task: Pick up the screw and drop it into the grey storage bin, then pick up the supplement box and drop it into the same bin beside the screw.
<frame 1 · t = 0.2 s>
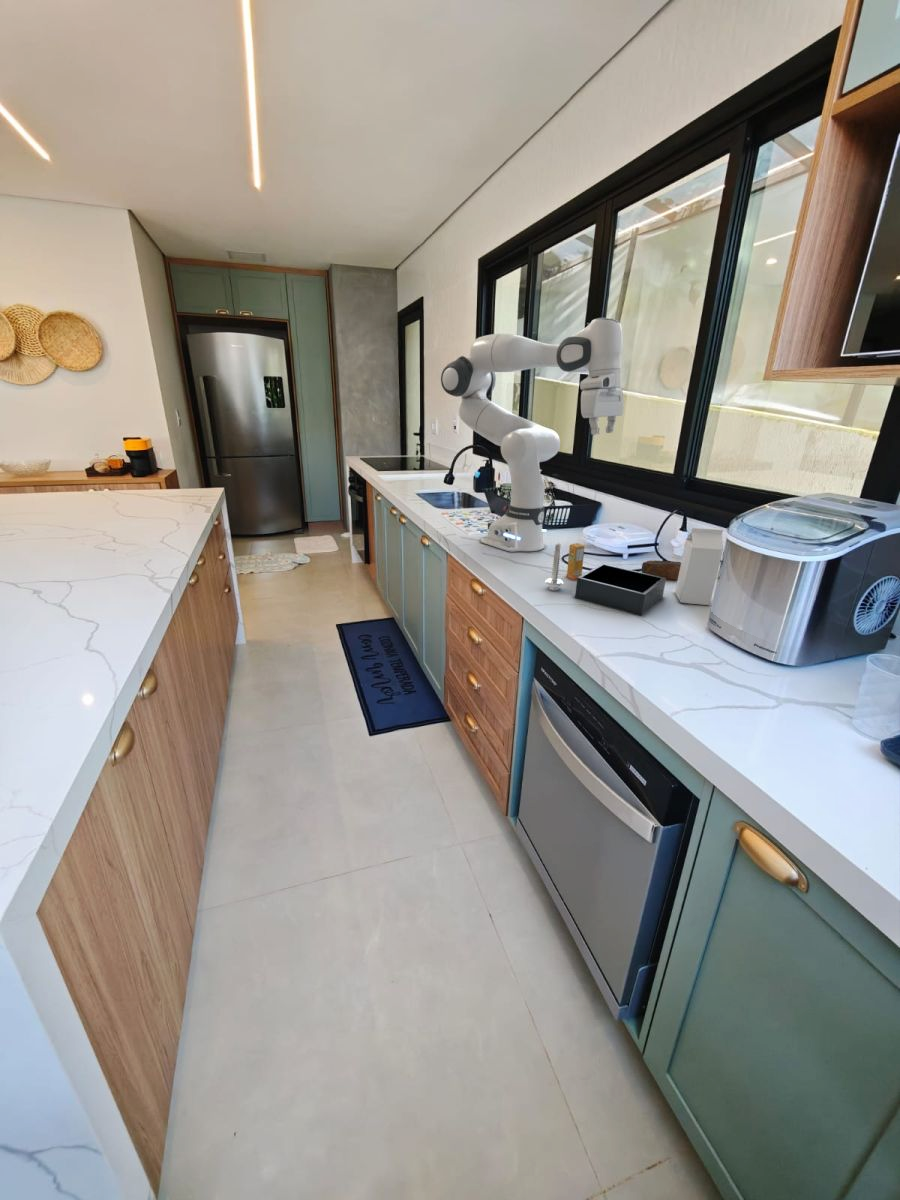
hand: (602, 433, 146), 39 cm above the countertop, tool pointing down, fingers open, 8 cm apart
milk carton: (691, 600, 132), on the countertop
screw: (553, 589, 137), on the countertop
brick: (660, 577, 148), on the countertop
supplement box: (573, 578, 146), on the countertop
grey storage bin: (618, 597, 132), on the countertop
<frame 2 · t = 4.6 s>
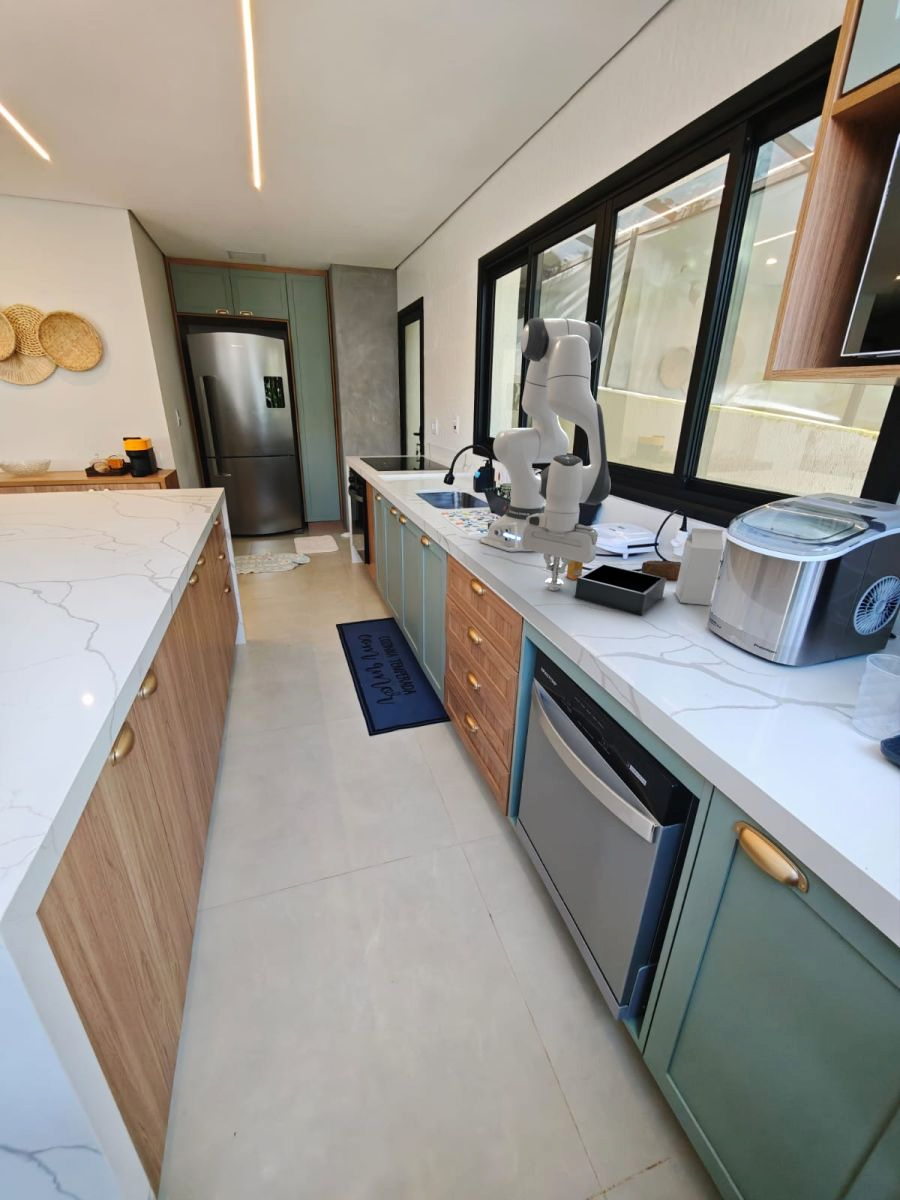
hand: (555, 571, 135), 5 cm above the countertop, tool pointing down, fingers closed on screw, 2 cm apart
screw: (553, 589, 137), on the countertop, touching gripper
everything else where it was.
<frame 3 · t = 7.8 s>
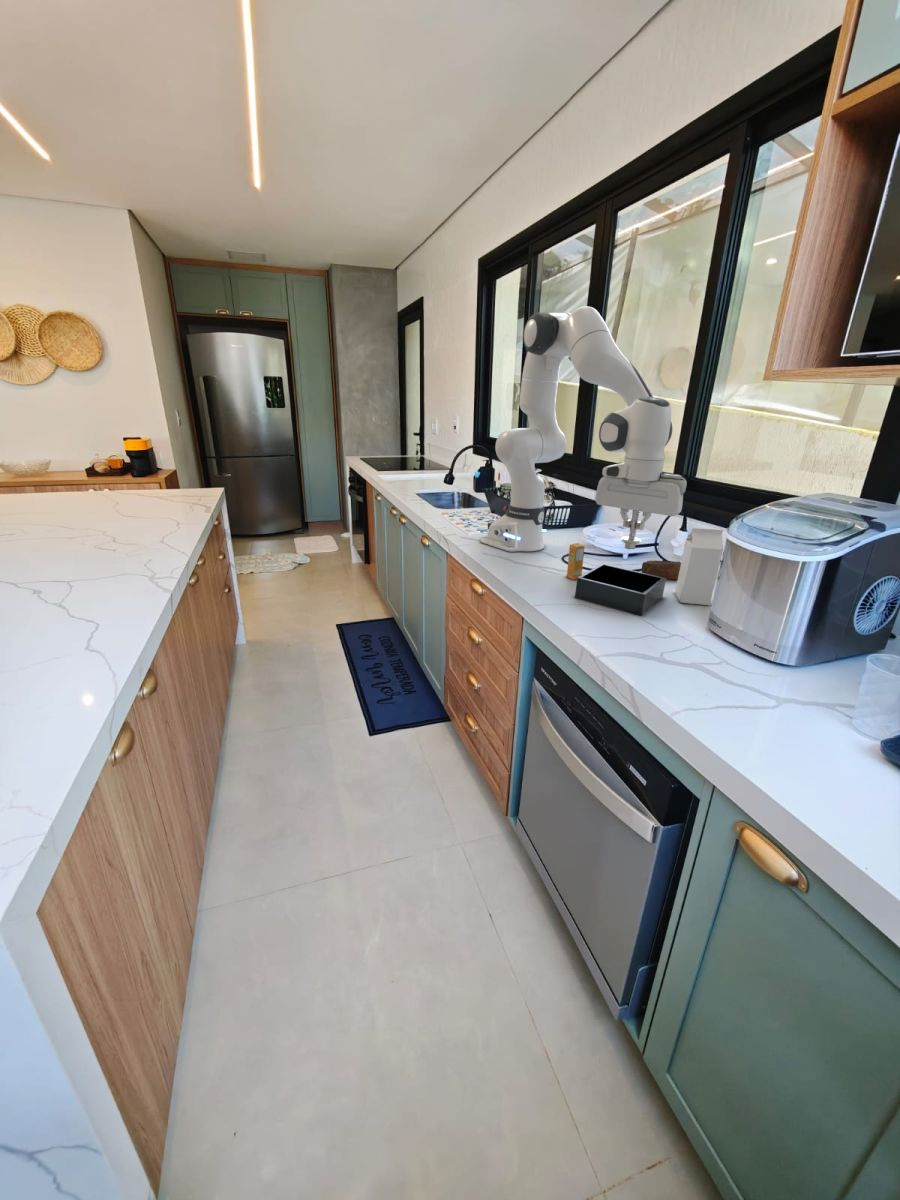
hand: (633, 528, 124), 19 cm above the countertop, tool pointing down, fingers closed on screw
screw: (629, 548, 126), point 14 cm above the countertop, touching gripper
everything else where it was.
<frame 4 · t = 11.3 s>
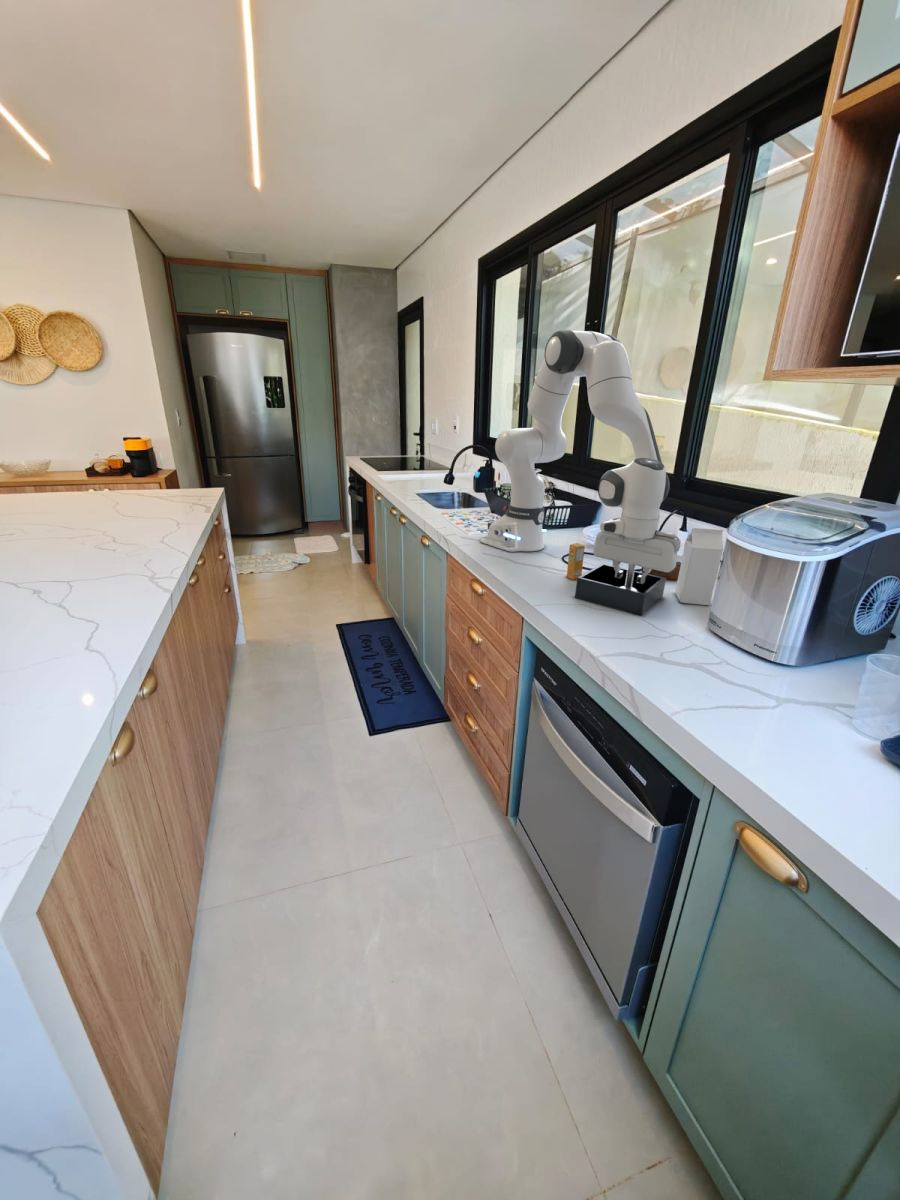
hand: (629, 580, 129), 5 cm above the countertop, tool pointing down, fingers open, 4 cm apart
screw: (626, 598, 131), resting on grey storage bin
everything else where it was.
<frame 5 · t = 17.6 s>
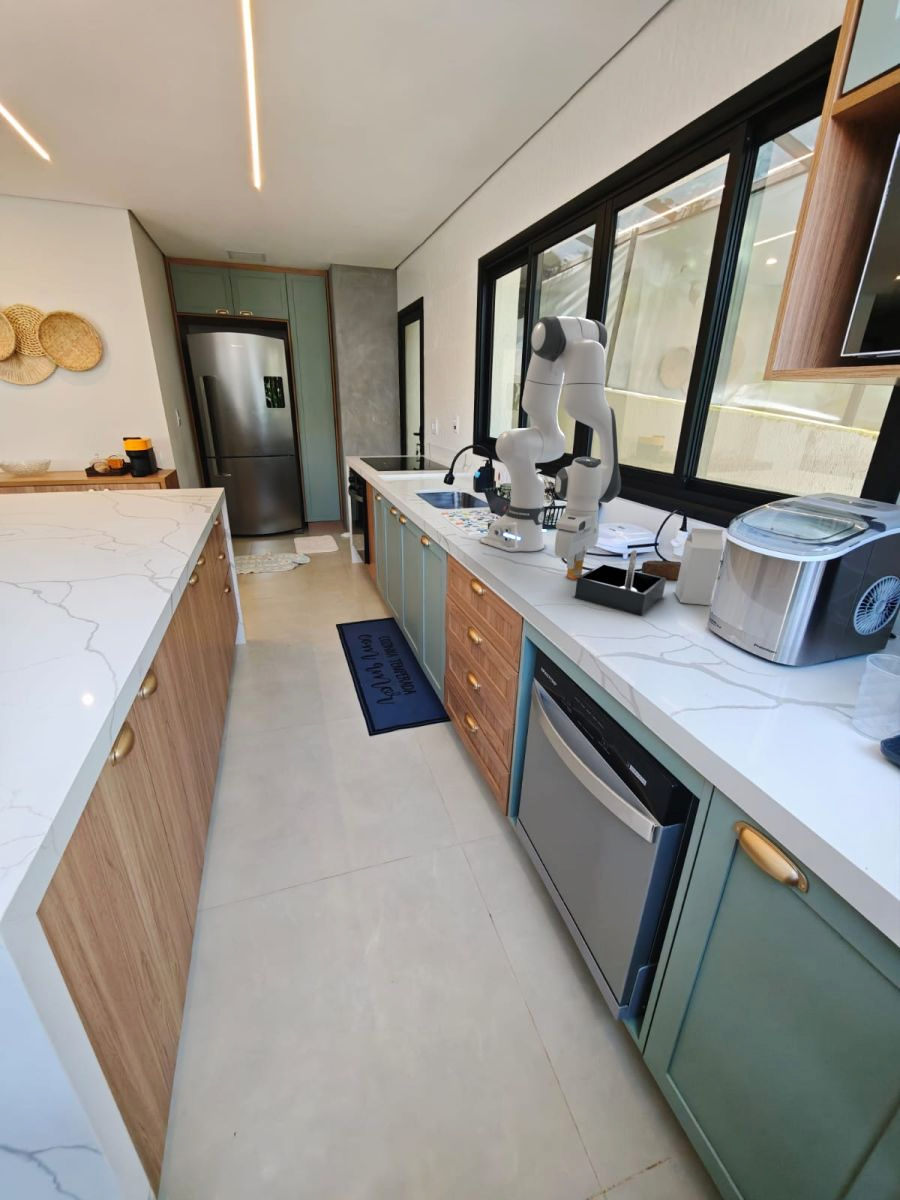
hand: (575, 566, 145), 4 cm above the countertop, tool pointing down, fingers closed on supplement box, 4 cm apart
supplement box: (573, 578, 146), on the countertop, touching gripper
everything else where it was.
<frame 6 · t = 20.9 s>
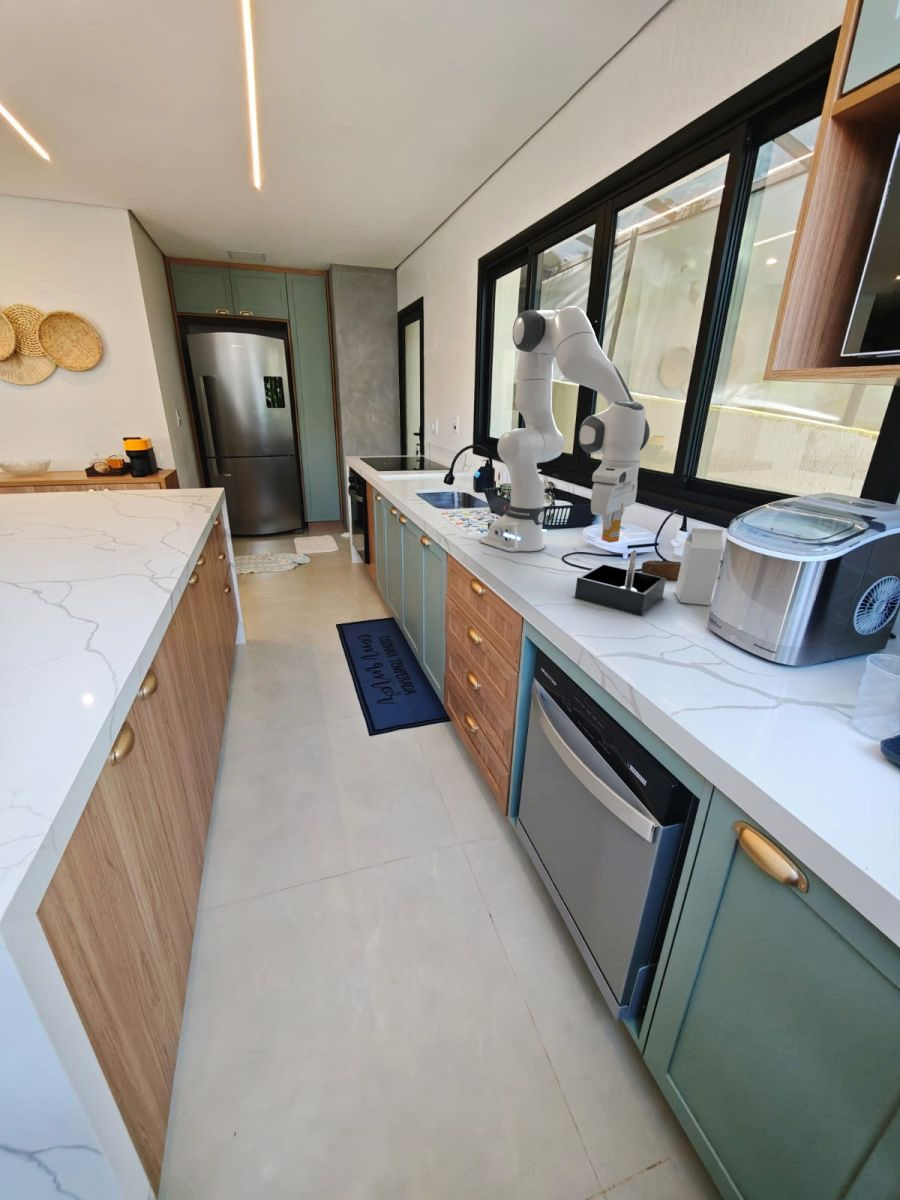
hand: (611, 527, 129), 18 cm above the countertop, tool pointing down, fingers closed on supplement box, 4 cm apart
supplement box: (609, 541, 130), point 14 cm above the countertop, touching gripper
everything else where it was.
when the fingers open (4 cm above the countertop, at t = 24.5 s): supplement box stays where it is, resting on grey storage bin.
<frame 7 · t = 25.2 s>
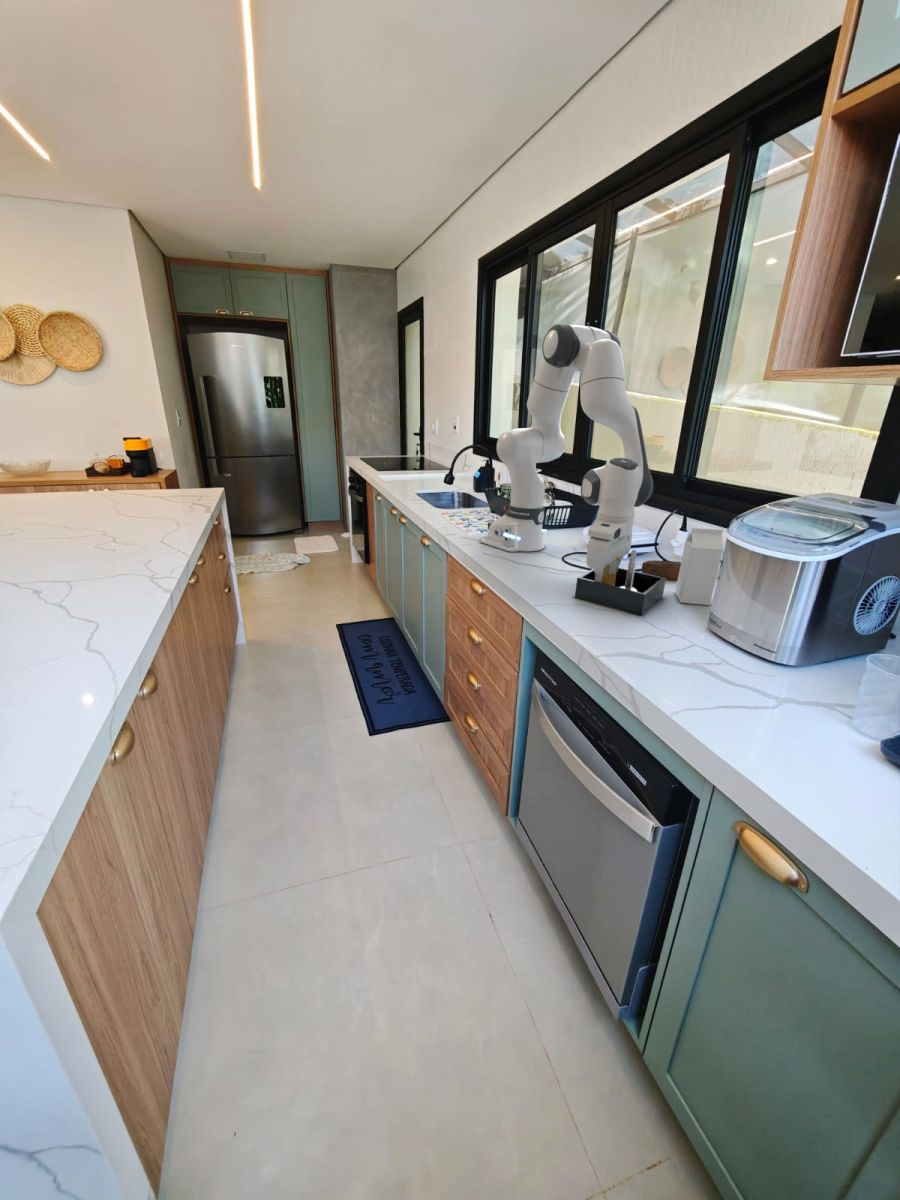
hand: (606, 576, 133), 5 cm above the countertop, tool pointing down, fingers open, 8 cm apart
supplement box: (604, 592, 135), resting on grey storage bin
everything else where it was.
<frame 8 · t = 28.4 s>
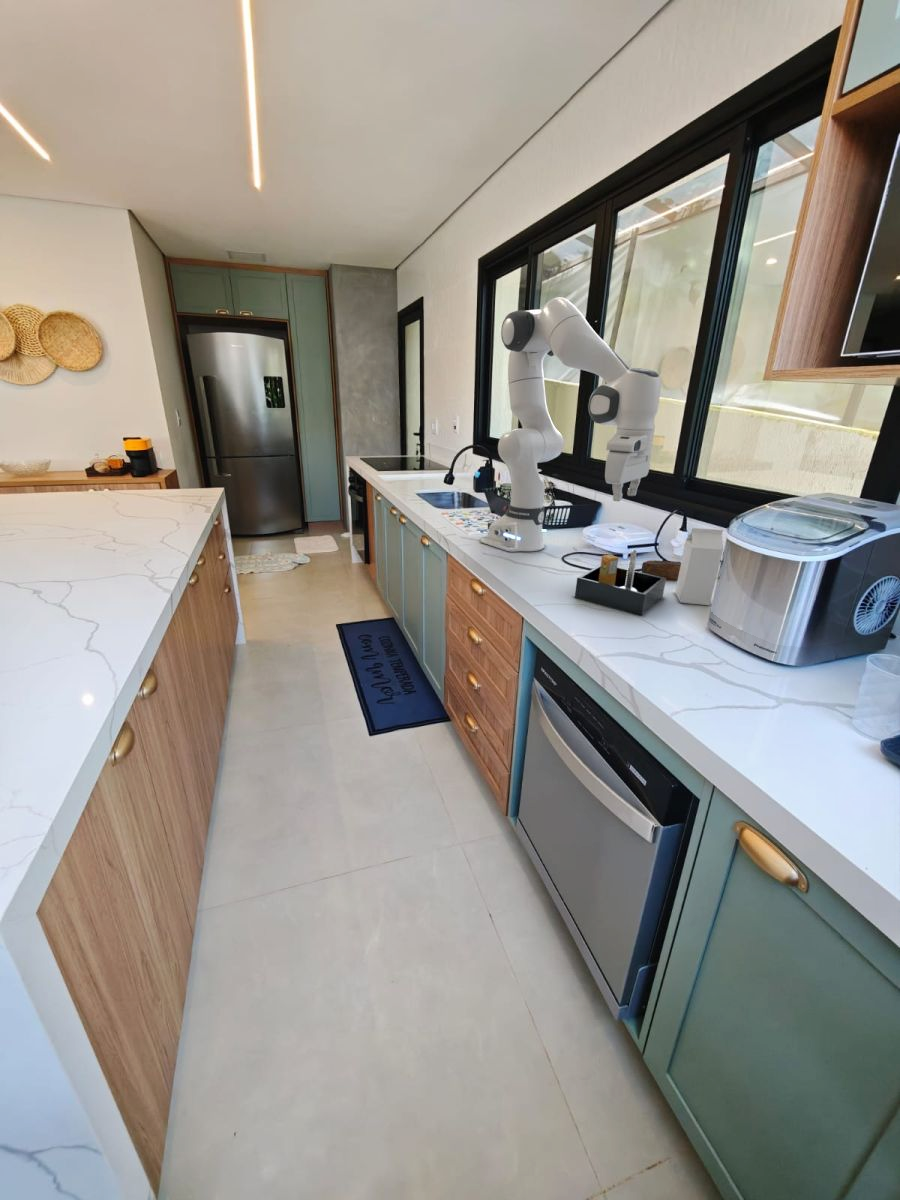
hand: (624, 498, 128), 25 cm above the countertop, tool pointing down, fingers open, 8 cm apart
nothing on the countertop moved.
at the end: screw inside the target area in the grey storage bin (2.0 cm from its centre), point 0.4 cm above the grey storage bin's base; supplement box inside the target area in the grey storage bin (3.9 cm from its centre), point 0.4 cm above the grey storage bin's base; the gripper is holding nothing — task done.
